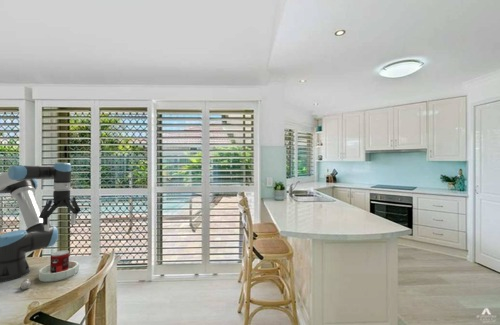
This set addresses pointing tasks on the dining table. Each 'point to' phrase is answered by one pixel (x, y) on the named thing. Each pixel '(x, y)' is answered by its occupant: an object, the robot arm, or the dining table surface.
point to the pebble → (25, 284)
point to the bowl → (49, 277)
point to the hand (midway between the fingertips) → (60, 227)
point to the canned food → (59, 261)
